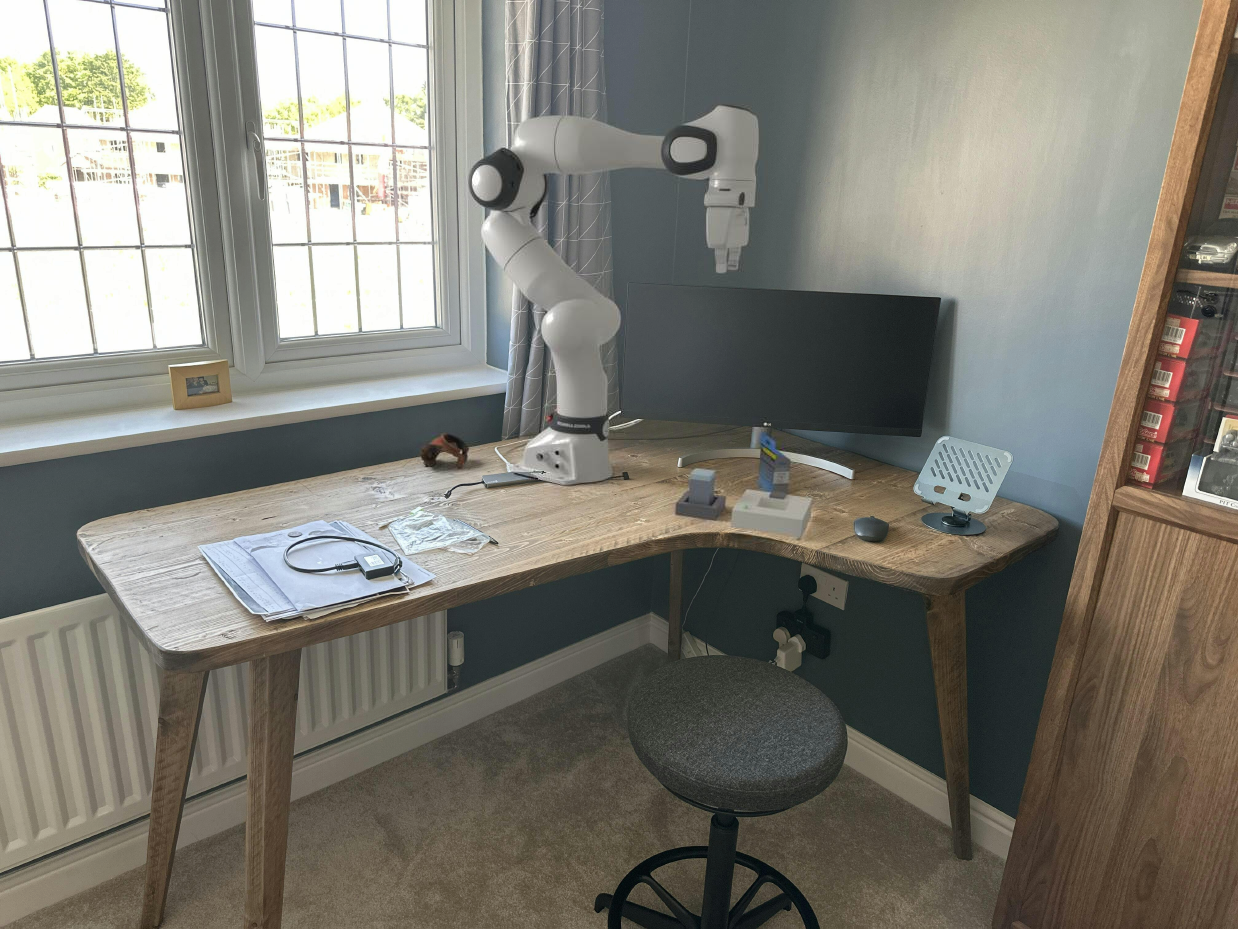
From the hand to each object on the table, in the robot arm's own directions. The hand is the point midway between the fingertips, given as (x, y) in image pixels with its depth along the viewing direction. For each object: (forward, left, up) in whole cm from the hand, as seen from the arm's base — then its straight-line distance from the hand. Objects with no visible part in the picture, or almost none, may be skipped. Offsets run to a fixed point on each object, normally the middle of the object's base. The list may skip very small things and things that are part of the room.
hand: (726, 271), depth 163 cm
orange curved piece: (-62, -7, -46) cm, 78 cm away
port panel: (+15, -13, -46) cm, 50 cm away
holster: (+1, -13, -46) cm, 48 cm away
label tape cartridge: (+11, +7, -46) cm, 48 cm away
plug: (+1, -13, -45) cm, 47 cm away
